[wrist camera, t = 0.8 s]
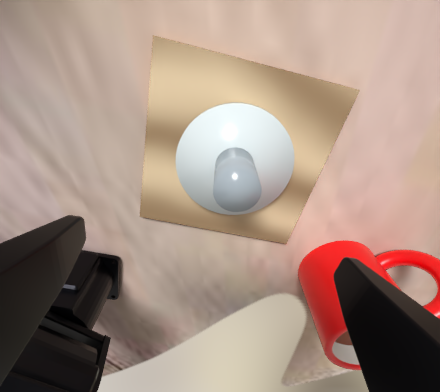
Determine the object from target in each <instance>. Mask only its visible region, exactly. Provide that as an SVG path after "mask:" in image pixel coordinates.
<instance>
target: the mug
mask: <svg viewBox="0 0 440 392" xmlns="http://www.w3.org/2000/svg"><path fill="white" fill-rule="evenodd" d="M344 257H351V258H356V259H358V260H360V261H361V262H362V263H364V264H365V265H366V266H368V267H369V268H371V269H372V270H373V271H375V272H376V273H377V274H379V275H380V276H382V277H383V278H384V279H386V280H387V281H388V282H390V283H391V284H392V285H394V286H395V287H397V288H398V289H399V290H400V288H399V287H398V286H397V284H396V283H395V282H394V281H393V279H392V278H391V277H390V275H389V274H388V273H387V271H386V270H387V269H389V268H392V267H395V266H403V265H406V266H413V267H417V268H420V269H422V270H424V271H426V272H428V273H429V274H431V275H432V277H433V278H434V279H435V281H436V283H437V287H438V292H437V295H436V297H435V298H434V299H433V300H432V301H431V302H430V303H428V304H427V305H424V306H423V307H424V308H425V309H427V310H428V311H429V312H431V313H432V314H434V315H435V316H436V317H438V318H439V319H440V260H439V259H437V258H435V257H433V256H431V255H429V254H426V253H423V252H419V251H414V250H394V251H389V252H385V253H382V254H380V255H378V256H376V257H375V256H374V255H373V253H372V252H371V251H370V249H369V248H367V247H366V246H365V245H363V244H360V243H358V242H353V241H335V242H331V243H327V244H325V245H322V246H320V247H318V248H316V249H314V250H313V251H311V252H310V253H309V254H308V255H307V256H306V257H305V258H304V259H303V260H302V262H301V264H300V266H299V269H298V277H299V280H300V283H301V286H302V289H303V292H304V295H305V298H306V300H307V303H308V306H309V309H310V312H311V315H312V318H313V321H314V324H315V326H316V329H317V332H318V335H319V338H320V341H321V344H322V347H323V349H324V352H325V355H326V356H327V358H328V359H329V360H330V361H331V362H332V363H334V364H336V365H338V366H340V367H343V368H346V369H352V370H361V367H360V365H359V362H358V359H357V356H356V353H355V350H354V348H353V345H352V342H351V339H350V336H349V333H348V331H347V328H346V325H345V322H344V318H343V315H342V311H341V307H340V303H339V299H338V295H337V291H336V287H335V283H334V277H333V276H334V272H335V270H336V269H337V267H338V265H339V264H340V262H341V260H342V259H343V258H344Z"/></svg>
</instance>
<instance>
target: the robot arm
mask: <svg viewBox="0 0 440 392" xmlns="http://www.w3.org/2000/svg"><path fill="white" fill-rule="evenodd" d="M85 240H86V233H85V223H84V219H83V218H82V217H80V216H73V215H68V216H65V217H63V218H61V219H58V220H56V221H53V222H51V223H48V224H46V225H44V226H41V227H39V228H36V229H34V230H32V231H29V232H27V233H24V234H22V235H20V236H17V237H15V238H12V239H10V240H7V241H5V242H3V243H0V392H97V390H98V388H99V384H100V381H101V377H102V373H103V368H104V364H105V360H106V356H107V352H108V347H109V343H110V339H111V338H110V337H108V336H106V335H105V336H103V335H101V334H99V333H97V332H95V331H92V328H93V326H94V324H95V322H96V320H97V318H98V316H99V314H100V312H101V310H102V308H103V305H104V303H105V301H106V299H113V300H115V299H117V298H118V296H119V279H120V259H119V257H117V256H113V255H107V254H101V253H95V252H89V251H83V250H82V248H83V246H84V243H85ZM113 260H114V261H113ZM333 277H334V283H335V287H336V291H337V295H338V299H339V303H340V307H341V311H342V315H343V318H344V322H345V325H346V328H347V331H348V333H349V336H350V339H351V342H352V345H353V348H354V350H355V353H356V356H357V359H358V362H359V365H360V367H361V370H362V373H363V376H364V379H365V381H366V384H367V387H368V390H369V392H440V319H439V318H438V317H436V316H435V315H434V314H432V313H431V312H429V311H428V310H427V309H425V308H424V307H423V306H421V305H420V304H419V303H417V302H416V301H414V300H413V299H412V298H410V297H409V296H408V295H406V294H405V293H403V292H402V291H401V290H399V289H398V288H397V287H395V286H394V285H392V284H391V283H390V282H388V281H387V280H386V279H384V278H383V277H382V276H380V275H379V274H377V273H376V272H375V271H373V270H372V269H371V268H369V267H368V266H366V265H365V264H364V263H362V262H361V261H360V260H358V259H356V258H351V257H344V258H343V259H342V260H341V262H340V264H339V265H338V267H337V269H336V270H335V272H334V276H333Z"/></svg>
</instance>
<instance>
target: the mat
mask: <svg viewBox="0 0 440 392" xmlns="http://www.w3.org/2000/svg"><path fill="white" fill-rule="evenodd" d="M359 91H360V90H357V89H354V88H350V87H346V86H342V85H339V84H335V83H331V82H327V81H323V80H320V79H316V78H312V77H308V76H305V75H301V74H297V73H293V72H290V71H286V70H282V69H278V68H274V67H271V66H267V65H263V64H259V63H256V62H252V61H248V60H244V59H241V58H237V57H233V56H229V55H225V54H222V53H218V52H214V51H210V50H207V49H203V48H199V47H195V46H192V45H188V44H184V43H180V42H176V41H173V40H169V39H165V38H161V37H158V36H154V35H153V43H152V57H151V70H150V84H149V98H148V111H147V125H146V138H145V152H144V166H143V179H142V193H141V207H140V217H144V218H150V219H155V220H161V221H166V222H171V223H177V224H182V225H188V226H193V227H198V228H204V229H209V230H214V231H220V232H225V233H231V234H236V235H241V236H247V237H252V238H257V239H263V240H268V241H274V242H279V243H284V244H286V243H287V241H288V239H289V237H290V235H291V233H292V231H293V229H294V227H295V225H296V223H297V220H298V218H299V216H300V214H301V212H302V210H303V208H304V206H305V204H306V202H307V200H308V197H309V195H310V193H311V191H312V189H313V187H314V185H315V183H316V181H317V179H318V177H319V174H320V172H321V170H322V168H323V166H324V164H325V162H326V160H327V158H328V156H329V154H330V152H331V149H332V147H333V145H334V143H335V141H336V139H337V137H338V135H339V133H340V131H341V129H342V126H343V124H344V122H345V120H346V118H347V116H348V114H349V112H350V110H351V108H352V106H353V103H354V101H355V99H356V97H357V95H358V93H359ZM230 102H243V103H249V104H253V105H256V106H259V107H261V108H263V109H265V110H266V111H268V112H269V113H271V114H272V115H273V116H274V117H276V118H277V119H278V120H279V122H280V123H281V124H282V125H283V126H284V128H285V129H286V131H287V132H288V134H289V136H290V138H291V141H292V144H293V148H294V168H293V172H292V175H291V178H290V180H289V182H288V184H287V186H286V187H285V189H284V190H283V192H282V193H281V194H280V195H279V196H278V197H277V198H276V199H275V200H274V201H273V202H271V203H270V204H269V205H267V206H265V207H263V208H262V209H259V210H257V211H254V212H251V213H247V214H241V215H226V214H220V213H216V212H213V211H210V210H208V209H206V208H204V207H202V206H201V205H199V204H198V203H196V202H195V201H194V200H193V199H192V198H191V197H190V196H189V195H188V194H187V193H186V191H185V190H184V188H183V187H182V185H181V183H180V181H179V178H178V175H177V170H176V152H177V147H178V144H179V141H180V139H181V137H182V135H183V133H184V131H185V129H186V128H187V127H188V125H189V124H190V123H191V122H192V121H193V120H194V119H195V117H197V116H198V115H199V114H201V113H202V112H204V111H205V110H207V109H209V108H211V107H214V106H216V105H219V104H223V103H230Z"/></svg>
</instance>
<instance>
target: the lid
mask: <svg viewBox="0 0 440 392" xmlns="http://www.w3.org/2000/svg"><path fill="white" fill-rule="evenodd" d="M293 168H294V148H293V144H292V141H291V138H290V136H289V134H288V132H287V131H286V129H285V128H284V126H283V125H282V124H281V123H280V122H279V120H278V119H277V118H276V117H274V116H273V115H272V114H271V113H269V112H268V111H266V110H265V109H263V108H261V107H259V106H256V105H253V104H249V103H243V102H230V103H223V104H219V105H216V106H214V107H211V108H209V109H207V110H205V111H204V112H202V113H201V114H199V115H198V116H197V117H195V119H194V120H193V121H192V122H191V123H190V124H189V125H188V127H187V128H186V129H185V131H184V133H183V135H182V137H181V139H180V141H179V144H178V147H177V152H176V170H177V175H178V178H179V181H180V183H181V185H182V187H183V188H184V190H185V191H186V193H187V194H188V195H189V196H190V197H191V198H192V199H193V200H194V201H195V202H196V203H198V204H199V205H201V206H202V207H204V208H206V209H208V210H210V211H213V212H216V213H220V214H226V215H241V214H247V213H251V212H254V211H257V210H259V209H262V208H263V207H265V206H267V205H269V204H270V203H271V202H273V201H274V200H275V199H276V198H277V197H278V196H279V195H280V194H281V193H282V192H283V190H284V189H285V187H286V186H287V184H288V182H289V180H290V178H291V175H292V172H293Z"/></svg>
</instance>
